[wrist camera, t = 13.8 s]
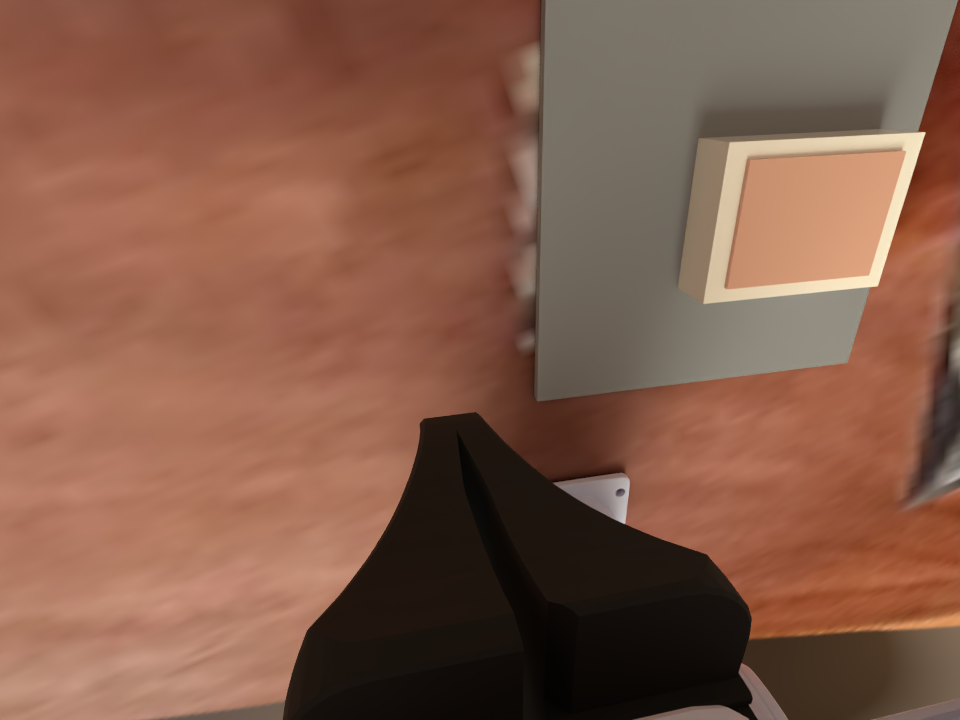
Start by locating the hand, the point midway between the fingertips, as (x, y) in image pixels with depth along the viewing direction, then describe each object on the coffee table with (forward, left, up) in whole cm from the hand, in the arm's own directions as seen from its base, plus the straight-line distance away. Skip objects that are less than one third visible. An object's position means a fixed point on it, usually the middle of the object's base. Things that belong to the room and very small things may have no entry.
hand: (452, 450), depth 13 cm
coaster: (+3, -11, -9) cm, 15 cm away
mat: (+3, -13, -10) cm, 17 cm away
